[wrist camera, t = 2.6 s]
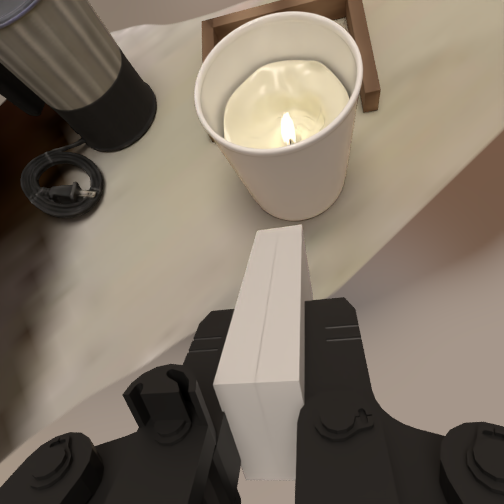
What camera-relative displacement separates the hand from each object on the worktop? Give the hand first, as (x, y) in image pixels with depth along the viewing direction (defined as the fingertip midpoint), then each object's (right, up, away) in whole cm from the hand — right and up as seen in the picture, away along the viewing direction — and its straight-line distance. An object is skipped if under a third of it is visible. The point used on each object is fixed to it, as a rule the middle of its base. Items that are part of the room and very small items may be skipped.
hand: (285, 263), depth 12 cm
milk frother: (-17, +11, +26) cm, 33 cm away
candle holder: (+3, +7, +20) cm, 21 cm away
